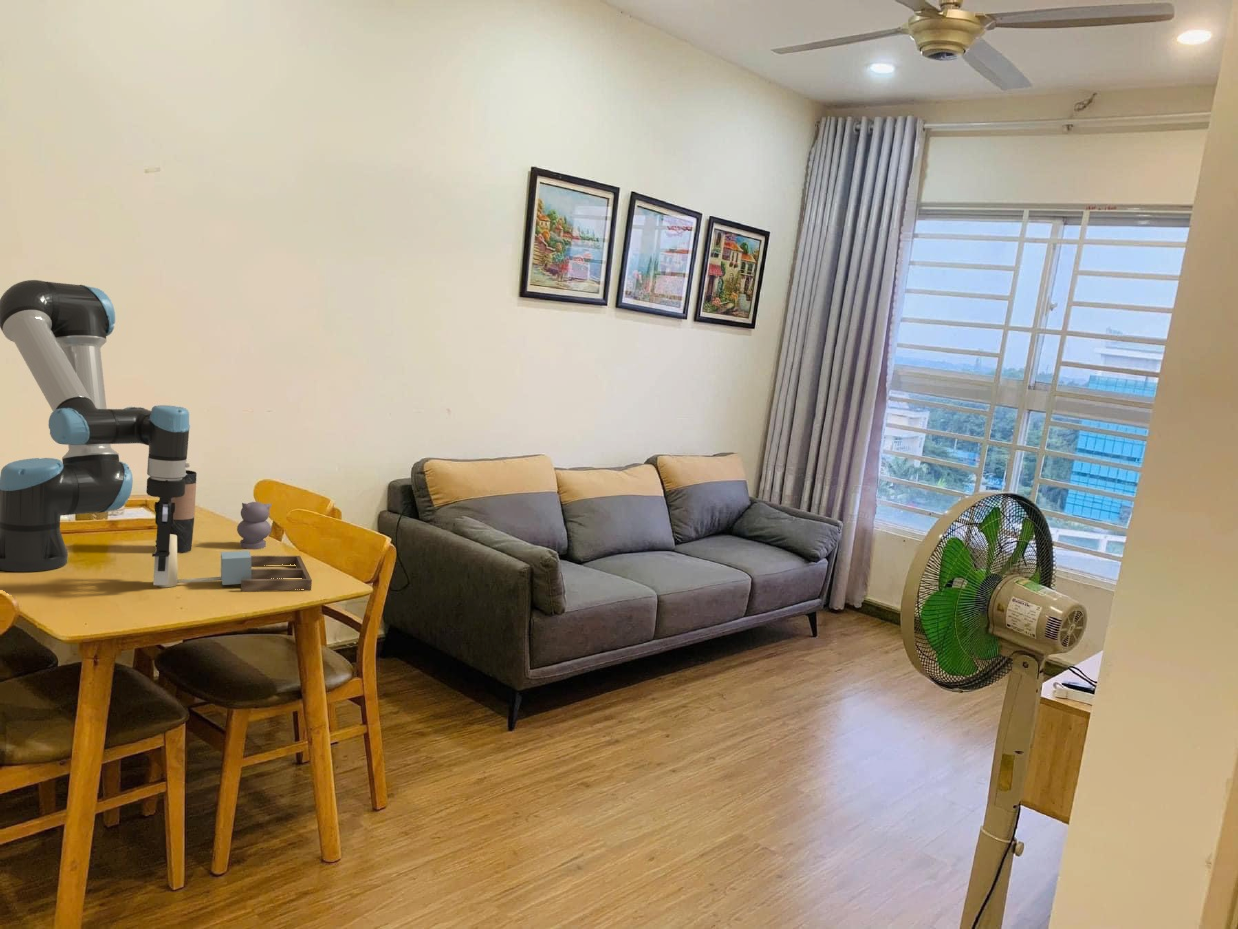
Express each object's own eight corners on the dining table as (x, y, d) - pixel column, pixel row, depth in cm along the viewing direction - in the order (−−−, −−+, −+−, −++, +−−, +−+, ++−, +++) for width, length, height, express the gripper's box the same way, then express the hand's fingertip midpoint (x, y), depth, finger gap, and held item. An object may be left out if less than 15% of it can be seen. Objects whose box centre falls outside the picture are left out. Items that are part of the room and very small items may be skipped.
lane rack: (240, 591, 203) (241, 580, 203) (235, 565, 223) (235, 555, 222) (311, 590, 210) (311, 580, 210) (299, 565, 229) (300, 555, 229)
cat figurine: (265, 542, 248) (268, 498, 247) (274, 549, 242) (277, 504, 241) (232, 543, 243) (235, 499, 241) (240, 550, 237) (243, 505, 235)
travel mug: (198, 548, 234) (203, 472, 231) (181, 555, 226) (186, 476, 223) (170, 544, 234) (174, 468, 232) (152, 550, 227) (156, 471, 224)
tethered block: (157, 589, 198) (156, 540, 196) (157, 581, 203) (156, 533, 201) (251, 583, 206) (251, 535, 205) (249, 575, 212) (249, 529, 210)
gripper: (186, 485, 192) (179, 592, 195) (184, 471, 207) (178, 570, 210) (146, 484, 188) (140, 593, 191) (147, 469, 203) (141, 570, 206)
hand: (160, 581), depth 201 cm, fingers closed on tethered block, 4 cm apart
